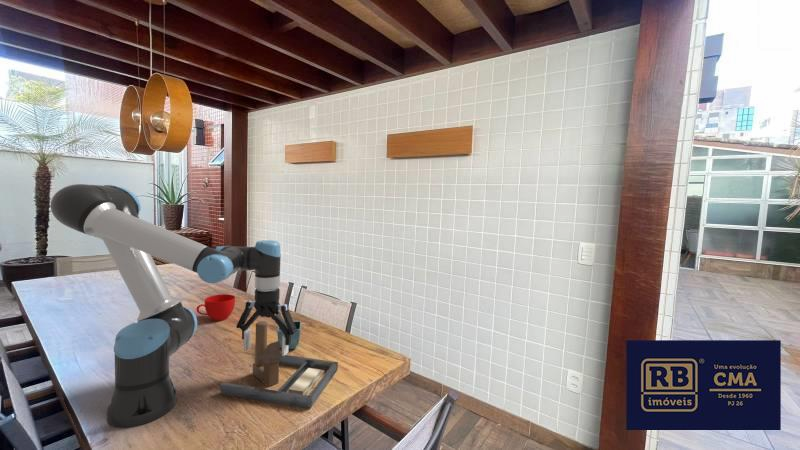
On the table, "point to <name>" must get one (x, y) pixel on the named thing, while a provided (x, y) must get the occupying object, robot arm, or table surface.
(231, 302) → the ceramic cup
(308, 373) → the offcut stack
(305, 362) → the tray
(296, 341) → the flower pot
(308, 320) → the table surface
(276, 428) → the table surface
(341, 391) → the table surface
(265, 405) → the table surface
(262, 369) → the wooden block
